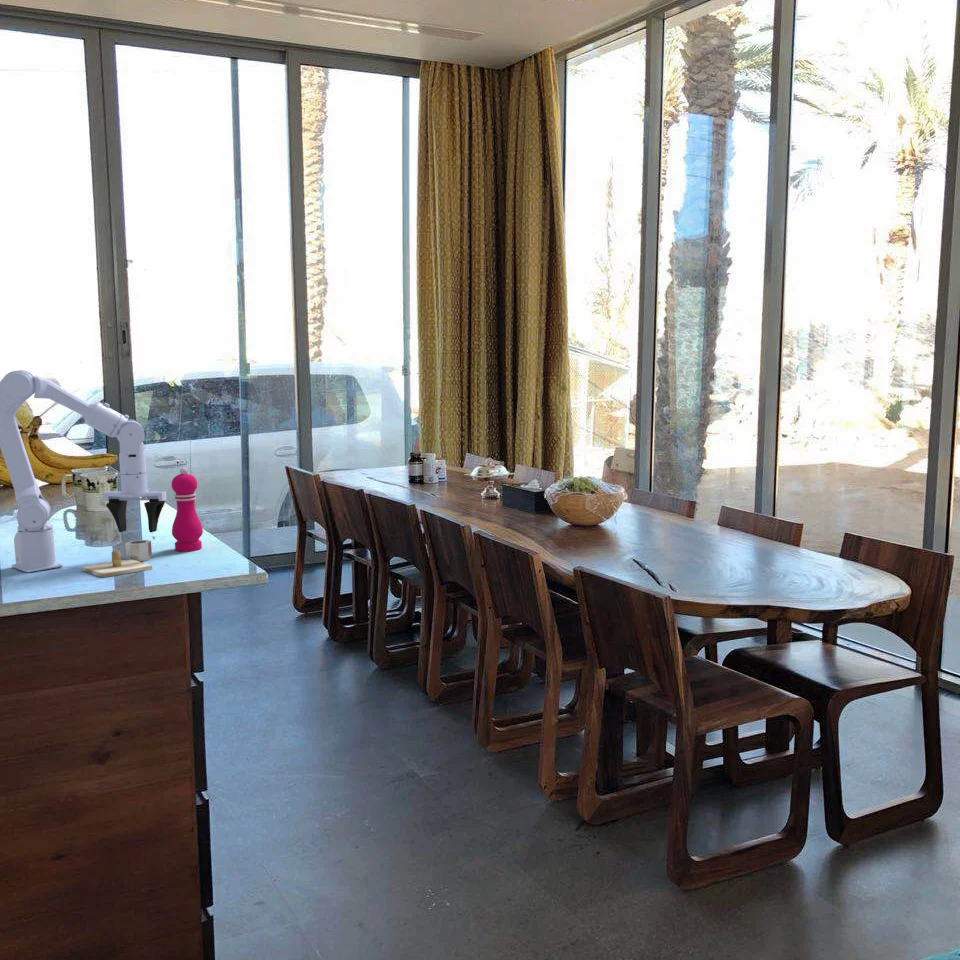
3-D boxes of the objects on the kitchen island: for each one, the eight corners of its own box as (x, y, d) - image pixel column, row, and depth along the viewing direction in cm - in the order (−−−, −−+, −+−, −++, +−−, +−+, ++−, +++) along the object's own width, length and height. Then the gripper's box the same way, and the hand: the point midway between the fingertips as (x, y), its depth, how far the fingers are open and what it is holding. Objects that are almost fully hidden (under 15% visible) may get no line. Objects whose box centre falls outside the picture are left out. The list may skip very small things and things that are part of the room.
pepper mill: (210, 547, 241) (205, 466, 238) (187, 553, 235) (182, 469, 232) (189, 545, 245) (184, 465, 242) (166, 550, 239) (161, 468, 236)
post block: (82, 570, 218) (80, 552, 218) (129, 562, 226) (128, 544, 225) (103, 577, 210) (102, 559, 210) (152, 568, 218) (151, 551, 218)
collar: (123, 559, 229) (122, 542, 229) (144, 555, 233) (143, 539, 232) (133, 562, 225) (132, 545, 225) (155, 558, 229) (154, 541, 228)
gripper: (94, 475, 224) (99, 534, 226) (153, 475, 221) (158, 534, 223) (111, 471, 231) (116, 528, 232) (169, 471, 228) (173, 529, 230)
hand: (137, 531), depth 228 cm, fingers open, 7 cm apart
